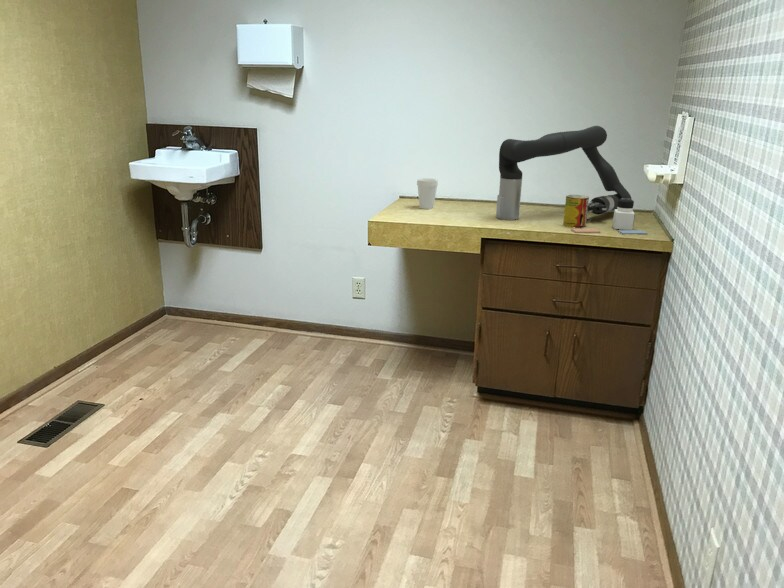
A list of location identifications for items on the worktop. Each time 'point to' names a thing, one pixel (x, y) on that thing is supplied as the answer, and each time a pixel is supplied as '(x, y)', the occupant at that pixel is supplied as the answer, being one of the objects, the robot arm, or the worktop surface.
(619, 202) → the medicine bottle
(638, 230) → the slate-blue tag
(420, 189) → the foam cup
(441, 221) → the worktop surface
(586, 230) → the terracotta tag
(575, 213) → the yellow red tin can
